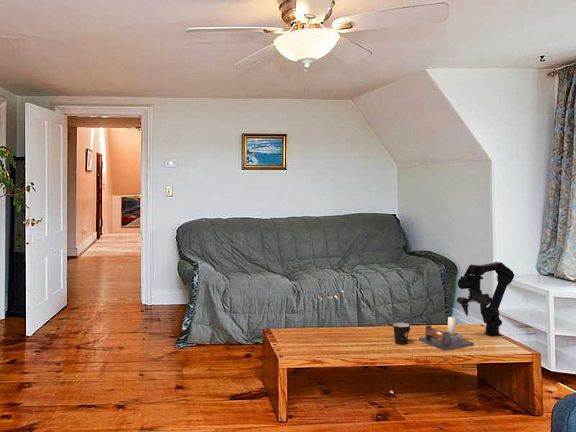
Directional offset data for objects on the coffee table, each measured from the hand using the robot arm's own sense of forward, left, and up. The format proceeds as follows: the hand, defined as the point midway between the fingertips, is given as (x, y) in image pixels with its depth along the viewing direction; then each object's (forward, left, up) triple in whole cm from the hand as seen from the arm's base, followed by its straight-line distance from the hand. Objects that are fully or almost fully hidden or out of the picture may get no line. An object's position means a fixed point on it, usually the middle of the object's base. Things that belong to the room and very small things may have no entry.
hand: (474, 315), depth 289 cm
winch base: (+20, +5, -13) cm, 24 cm away
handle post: (+16, +4, -12) cm, 20 cm away
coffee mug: (+42, 0, -13) cm, 44 cm away
